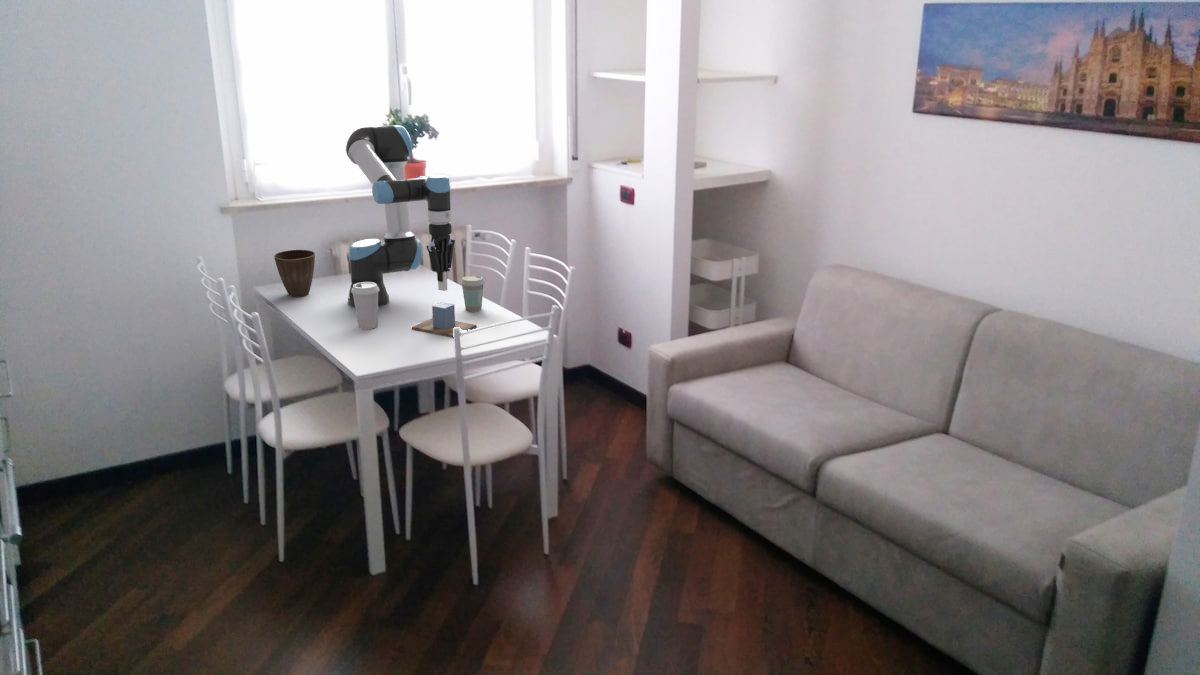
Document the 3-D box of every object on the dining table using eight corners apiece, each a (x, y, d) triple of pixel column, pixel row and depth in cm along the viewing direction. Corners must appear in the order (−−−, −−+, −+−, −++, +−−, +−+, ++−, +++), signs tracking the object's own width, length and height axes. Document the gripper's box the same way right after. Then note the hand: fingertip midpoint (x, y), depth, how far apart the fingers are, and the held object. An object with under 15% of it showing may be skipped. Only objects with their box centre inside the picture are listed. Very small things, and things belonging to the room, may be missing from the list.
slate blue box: (433, 326, 318) (432, 305, 316) (442, 322, 323) (441, 301, 320) (445, 329, 316) (444, 308, 313) (455, 325, 320) (454, 304, 318)
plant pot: (302, 302, 346) (298, 260, 341) (269, 297, 351) (265, 256, 346) (326, 291, 359) (323, 251, 354) (294, 287, 364) (291, 248, 359)
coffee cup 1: (358, 321, 325) (355, 280, 320) (385, 322, 325) (382, 281, 320) (350, 330, 316) (347, 288, 311) (378, 331, 316) (375, 289, 311)
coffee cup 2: (480, 313, 336) (479, 282, 332) (458, 311, 338) (457, 280, 334) (488, 306, 344) (487, 275, 340) (466, 305, 345) (465, 274, 342)
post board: (412, 329, 318) (411, 308, 316) (435, 318, 329) (434, 299, 327) (454, 337, 310) (453, 317, 308) (476, 327, 321) (475, 307, 319)
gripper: (436, 227, 300) (440, 296, 308) (460, 220, 311) (463, 286, 319) (418, 224, 304) (422, 292, 311) (442, 217, 314) (445, 283, 322)
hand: (442, 289), depth 315 cm, fingers closed
